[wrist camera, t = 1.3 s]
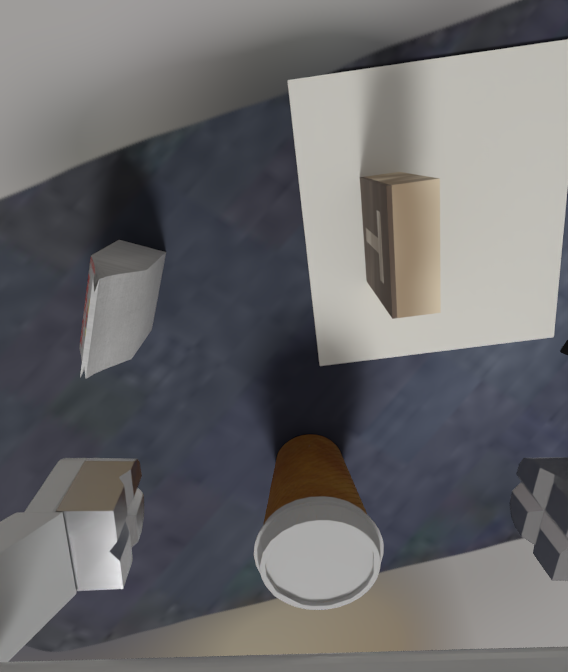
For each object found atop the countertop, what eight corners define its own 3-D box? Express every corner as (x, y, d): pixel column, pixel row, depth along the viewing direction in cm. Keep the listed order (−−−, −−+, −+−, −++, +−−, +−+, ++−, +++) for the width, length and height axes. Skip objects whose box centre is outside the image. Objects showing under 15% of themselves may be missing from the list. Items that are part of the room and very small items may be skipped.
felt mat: (579, 38, 32) (581, 37, 31) (552, 336, 40) (553, 337, 40) (287, 80, 32) (287, 80, 32) (319, 365, 40) (319, 366, 40)
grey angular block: (166, 252, 37) (128, 286, 27) (151, 329, 39) (112, 385, 30) (119, 239, 36) (65, 270, 27) (107, 318, 39) (54, 371, 29)
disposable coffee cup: (241, 441, 43) (229, 543, 32) (336, 403, 42) (358, 495, 31) (284, 514, 46) (286, 629, 35) (373, 481, 45) (405, 590, 34)
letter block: (399, 171, 34) (439, 178, 26) (403, 276, 37) (440, 312, 29) (359, 177, 34) (385, 186, 26) (366, 281, 37) (392, 318, 29)
